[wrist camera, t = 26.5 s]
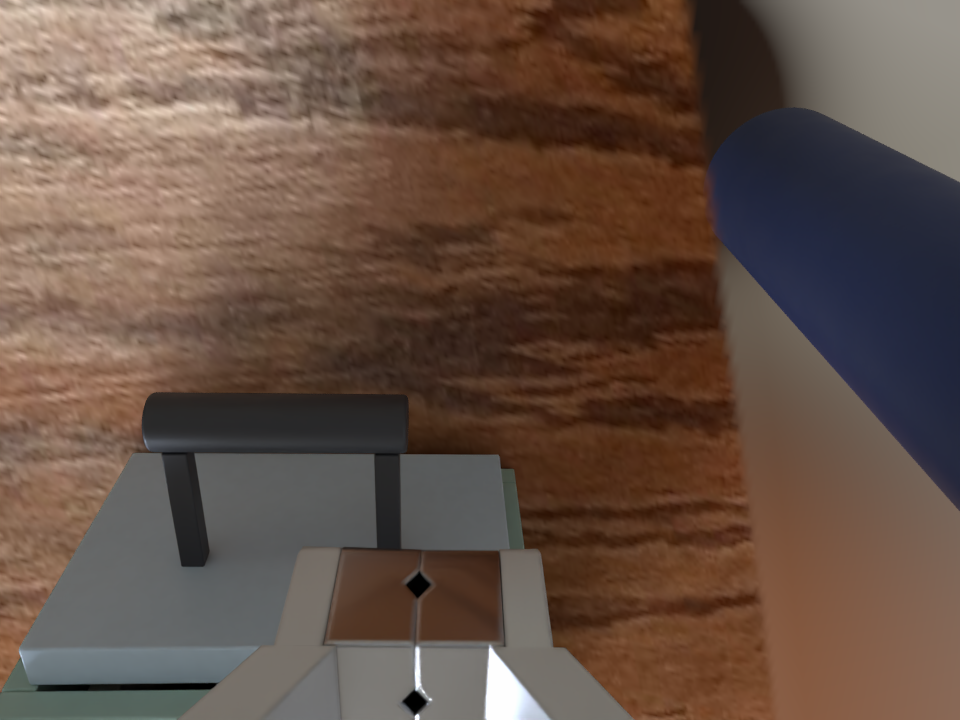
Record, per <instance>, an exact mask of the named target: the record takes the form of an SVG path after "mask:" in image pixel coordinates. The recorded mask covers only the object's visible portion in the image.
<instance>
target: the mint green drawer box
mask: <svg viewBox="0 0 960 720" xmlns="http://www.w3.org/2000/svg"><path fill="white" fill-rule="evenodd" d="M501 474H502V483H503V492H504V501H505V511H506V520H507V529H508V538H509V547H510V549H525V548H524V540H523V533H522V525H521V518H520V510H519V503H518V495H517V488H516V480H515V473H514V469H501ZM90 685H91V684H69V685H31V684H30V683H29V681H28V677H27V674H26V671H25V668H24V665H23V662H22V659H21V657H20V659H19V661H18V663H17V664H16V666H15V668H14V669H13V671H12V673H11V675H10V676H9V678H8V680H7V682H6V683H5V685H4V687H3V689H2V692H1V693H0V720H177V719H178V718H180V717H181V716H182V715H183V714H184V713H185V712H186V711H188V710H189V709H190V708H191V707H192V706H193V705H194V704H195V703H197V702H198V701H199V700H200V699H201V698H202V697H203V696H205V695H206V694H207V693H208V692H209V691H210V690H122V691H88V689H89V687H90Z"/></svg>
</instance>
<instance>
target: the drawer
mask: <svg viewBox="0 0 960 720" xmlns="http://www.w3.org/2000/svg"><path fill="white" fill-rule="evenodd" d="M408 425H409V406H408V397H407V396H406V395H398V394H284V393H170V392H156V393H153V394H151V395H150V396H149V397H148V398H147V400H146V403H145V406H144V410H143V415H142V434H143V440H144V443H145V446H146V448H147V449H148V450H149V451H152V452H162V453H133V454H132V456H131V457H130V459H129V461H128V462H127V464H126V466H125V468H124V469H123V471H122V473H121V474H120V476H119V478H118V480H117V481H116V483H115V485H114V486H113V488H112V490H111V492H110V493H109V495H108V497H107V498H106V500H105V502H104V504H103V505H102V507H101V509H100V510H99V512H98V514H97V516H96V517H95V519H94V521H93V522H92V524H91V526H90V528H89V529H88V531H87V533H86V534H85V536H84V538H83V540H82V541H81V543H80V545H79V546H78V548H77V550H76V552H75V553H74V555H73V557H72V558H71V560H70V562H69V564H68V565H67V567H66V569H65V570H64V572H63V574H62V576H61V577H60V579H59V581H58V582H57V584H56V586H55V587H54V589H53V591H52V593H51V594H50V596H49V598H48V599H47V601H46V603H45V605H44V606H43V608H42V610H41V611H40V613H39V615H38V617H37V618H36V620H35V622H34V623H33V625H32V627H31V629H30V630H29V632H28V634H27V635H26V637H25V639H24V641H23V642H22V644H21V646H20V647H19V653H20V656H21V659H22V662H23V665H24V668H25V671H26V674H27V677H28V681H29V683H30V684H31V685H69V684H91V685H90V687H89V689H88V691H122V690H211V689H213V688H214V687H215V686H216V685H217V684H218V683H219V682H220V681H222V680H223V679H224V678H225V677H226V676H227V675H228V674H230V673H231V672H232V671H233V670H234V669H235V668H236V667H237V666H239V665H240V664H241V663H242V662H243V661H244V660H245V659H247V658H248V657H249V656H250V655H251V654H252V653H253V652H255V651H256V650H257V649H258V648H259V647H260V646H261V645H274V643H275V639H276V635H277V631H278V628H279V624H280V620H281V616H282V612H283V608H284V605H285V601H286V597H287V593H288V589H289V586H290V582H291V578H292V574H293V570H294V566H295V563H296V559H297V555H298V553H299V552H300V550H301V549H302V547H303V546H315V547H340V548H343V547H364V548H393V549H421V550H498V551H499V549H510V547H509V538H508V529H507V520H506V511H505V501H504V492H503V483H502V474H501V465H500V457H499V455H457V454H400V453H405V452H406V451H407V449H408ZM194 452H213V453H194ZM254 453H374V454H254Z"/></svg>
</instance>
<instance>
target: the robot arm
mask: <svg viewBox="0 0 960 720" xmlns="http://www.w3.org/2000/svg"><path fill="white" fill-rule="evenodd" d="M177 720H634V719H633V718H632V717H631V716H630V715H629V714H628V713H627V712H626V710H625V709H624V708H623V707H622V706H621V705H620V704H619V703H618V702H617V701H616V700H615V699H614V698H613V697H612V696H611V695H610V694H609V693H608V692H607V691H606V690H605V689H604V688H603V686H602V685H601V684H600V683H599V682H598V681H597V680H596V679H595V678H594V677H593V676H592V675H591V674H590V673H589V672H588V671H587V670H586V669H585V668H584V667H583V666H582V665H581V664H580V662H579V661H578V660H577V659H576V658H575V657H574V656H573V655H572V654H571V653H570V652H569V651H568V650H567V649H566V648H555V647H553V641H552V633H551V626H550V618H549V611H548V603H547V596H546V588H545V580H544V573H543V565H542V558H541V553H540V552H539V550H538V549H499V551H498V550H421V549H393V548H364V547H343V548H340V547H315V546H303V547H302V549H301V550H300V552H299V553H298V555H297V559H296V563H295V566H294V570H293V574H292V578H291V582H290V586H289V589H288V593H287V597H286V601H285V605H284V608H283V612H282V616H281V620H280V624H279V628H278V631H277V635H276V639H275V643H274V645H261V646H260V647H259V648H258V649H257V650H256V651H255V652H253V653H252V654H251V655H250V656H249V657H248V658H247V659H245V660H244V661H243V662H242V663H241V664H240V665H239V666H237V667H236V668H235V669H234V670H233V671H232V672H231V673H230V674H228V675H227V676H226V677H225V678H224V679H223V680H222V681H220V682H219V683H218V684H217V685H216V686H215V687H214V688H213V689H211V690H210V691H209V692H208V693H207V694H206V695H205V696H203V697H202V698H201V699H200V700H199V701H198V702H197V703H195V704H194V705H193V706H192V707H191V708H190V709H189V710H188V711H186V712H185V713H184V714H183V715H182V716H181V717H180V718H178V719H177Z"/></svg>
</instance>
